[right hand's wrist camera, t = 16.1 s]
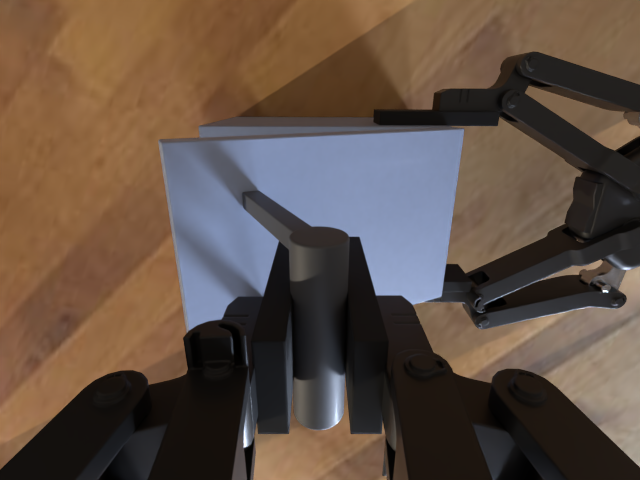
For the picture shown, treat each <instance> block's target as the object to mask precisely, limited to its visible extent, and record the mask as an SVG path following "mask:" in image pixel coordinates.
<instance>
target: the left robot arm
mask: <svg viewBox="0 0 640 480" xmlns="http://www.w3.org/2000/svg"><path fill="white" fill-rule="evenodd" d="M500 70H501V73H500V75H499V77H498V79H497V81H496V83H495V84H494V85H493V86H491V87H490V88H487V89H442V90H440V91H437V92H435V93H434V98H433V108H432V110H375V109H374V120H373V122H374V123H376V124H378V125H443V126H498V121H499V117H500V118H502V119H503V120H505V121H506V122H508V123H509V124H511V125H513V126H514V127H516V128H517V129H519V130H520V131H522V132H523V133H525V134H527V135H528V136H530V137H531V138H533V139H534V140H536V141H537V142H539V143H541V144H542V145H544V146H545V147H547V148H548V149H550V150H551V151H553V152H555V153H556V154H558V155H559V156H561V157H562V158H564V159H565V161H566V162H567V163H569V164H570V165H572V166H574V167H575V168H577V169H578V170H580V171H581V172H583V173H582V175H581V177H576V179H575V183H574V187H573V202H572V204H571V206H570V208H569V210H568V211H567V215H566V219H565V223H566V224H564V225H562V226H560V227H557V228H555V229H553V230H551V231H549V232H548V235H547V237H545V238H543V239H541V240H538V241H536V242H534V243H532V244H530V245H527V246H525V247H523V248H521V249H519V250H516V251H514V252H512V253H510V254H508V255H505V256H503V257H501V258H499V259H497V260H494V261H492V262H490V263H488V264H486V265H483V266H481V267H479V268H477V269H475V270H472V271H470V272H468V273H466V274H465V273H464V271H463V270H462V269H461V268H460V266H459V265H458V264H446V267H445V275H444V282H443V289H442V296H441V297H438V298H435V299H431V300H428V301H424V302H460V303H463V307H464V309H465V311H466V312H467V314H468V315H469V317H470V318H471V320H472V321H473V323H474V324H475V326H476V327H477V328H479V329H487V328H492V327H497V326H501V325H506V324H511V323H515V322H520V321H525V320H530V319H534V318H539V317H544V316H548V315H553V314H558V313H562V312H567V311H572V310H577V309H581V308H586V307H598V308H610V309H617V308H620V307H622V306H623V305H624V304H625V302H626V299H627V298H626V295H624V294H623V293H622V292H620V291H619V290H618V289H619V286H620V284H621V282H622V279H623V277H624V274H625V272H626V270H630V269H634V268H636V267H639V266H640V136H639V137H637V138H635V139H633V140H632V141H630V142H628V143H627V144H625V145H623V146H622V147H620V148H618V149H617V150H615V151H614V150H611V149H609V148H606V147H605V146H603V145H602V144H600V143H598V142H597V141H595V140H594V139H592V138H591V137H589V136H588V135H586V134H585V133H583V132H582V131H580V130H579V129H577V128H576V127H574V126H573V125H571V124H570V123H568V122H567V121H565V120H564V119H562V118H561V117H559V116H558V115H556V114H555V113H553V112H552V111H550V110H549V109H547V108H546V107H544V106H543V105H541V104H540V103H538V102H537V101H535V100H534V99H532V98H531V97H529V96H528V95H526V94H525V91H526V89H527V88H528V86H532V87H535V88H539V89H542V90H545V91H548V92H551V93H555V94H558V95H561V96H564V97H567V98H571V99H574V100H577V101H580V102H583V103H587V104H590V105H593V106H596V107H599V108H603V109H607V110H612V111H625V112H624V115H623V117H624V118H625V119H627V121H628V122H629V124H631V125H635V126H638V127H639V128H640V85H638V84H635V83H632V82H629V81H626V80H623V79H620V78H617V77H614V76H610V75H607V74H604V73H601V72H598V71H595V70H592V69H589V68H586V67H582V66H579V65H576V64H573V63H570V62H567V61H564V60H561V59H558V58H554V57H551V56H548V55H545V54H542V53H539V52H529V53H525V54H520V55H515V56H511V57H508V58H506V59H505V60H504V61H503V63H502V64H501V68H500ZM577 240H578V241H579V242H578V241H577ZM600 259H601V260H602V261H603V263H602V264H601V265H600V267H598V268H596V269H593V270H588V271H587V270H586V269H583V270H581V271H580V272H579V275H565V276H560V277H555V278H551V279H546V280H542V281H539V280H541V279H544V278H546V277H548V276H550V275H553V274H555V273H557V272H560V271H562V270H564V269H567V268H569V267H571V266H585V265H589V264H591V263H593V262H596V261H598V260H600Z"/></svg>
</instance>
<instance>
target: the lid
mask: <svg viewBox="0 0 640 480" xmlns="http://www.w3.org/2000/svg"><path fill="white" fill-rule="evenodd" d="M463 135H464V129H463V128H454V127H437V128H413V129H390V130H367V131H343V132H320V133H297V134H273V135H250V136H227V137H203V138H180V139H160V140H159V141H158V142H159V149H160V156H161V163H162V169H163V176H164V183H165V190H166V196H167V203H168V210H169V217H170V223H171V230H172V237H173V244H174V251H175V257H176V264H177V271H178V278H179V284H180V291H181V298H182V305H183V311H184V318H185V325H186V332H188V331H189V330H191V329H192V328H194V327H195V326H197V325H199V324H202V323H205V322H208V321H213V320H222V317H223V315H224V313H225V310H226V308H227V306H228V305H229V304H230V303H231V302H232V301H233V300H235V299H236V298H237V297H238V296H264V292H265V288H266V285H267V281H268V278H269V274H270V271H271V267H272V264H273V260H274V257H275V253H276V249H277V246H278V242H279V241H280V242H281V243H282V244H283V245H284V246H285V247H286V248H288V249H289V267H290V293H291V295H292V325H293V358H294V383H293V405H294V415H295V417H296V419H297V420H298V422H299V423H300V424H301V425H303V426H304V427H306V428H309V429H313V430H325V429H329V428H331V427H333V426H335V425H336V424H337V423H338V422H339V421H340V420H341V418H342V416H343V413H344V391H345V359H346V328H347V297H348V271H349V241H350V238H349V237H360V240H361V244H362V247H363V251H364V254H365V258H366V261H367V265H368V269H369V272H370V276H371V279H372V283H373V286H374V290H375V293H376V295H402V296H403V297H404V298H405V299H407V300H408V301H409V302H410V303H411V304H412V305H414V304H418V303H421V302H424V301H428V300H431V299H435V298H438V297H441V296H442V289H443V282H444V275H445V267H446V260H447V253H448V245H449V238H450V230H451V223H452V216H453V208H454V201H455V194H456V186H457V179H458V172H459V164H460V157H461V149H462V142H463Z"/></svg>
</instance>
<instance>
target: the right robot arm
mask: <svg viewBox="0 0 640 480" xmlns="http://www.w3.org/2000/svg"><path fill="white" fill-rule="evenodd" d="M349 238H350V241H349V271H348V297H347V328H346V359H345V376H346V387H347V398H348V409H349V420H350V431H351V434H382V422H383V424H384V429H385V434H386V439H385V451H384V463H383V474H382V476H387V480H640V467H639V466H638V465H637V464H636V463H634V462H633V461H632V460H631V459H630V458H629V457H628V456H627V455H626V454H625V453H624V452H623V451H622V450H621V449H620V448H619V447H618V446H617V445H616V444H615V443H614V442H613V441H612V440H611V439H610V438H609V437H608V436H606V435H605V434H604V433H603V432H602V431H601V430H600V429H599V428H598V427H597V426H596V425H595V424H594V423H593V422H592V421H591V420H590V419H589V418H588V417H587V416H586V415H585V414H584V413H583V412H582V411H581V410H580V409H578V408H577V407H576V406H575V405H574V404H573V403H572V402H571V401H570V400H569V399H568V398H567V397H566V396H565V395H564V394H563V393H562V392H561V391H560V390H559V389H558V388H557V387H556V386H554V385H553V384H552V383H550V382H549V381H548V380H546V379H545V378H543V377H541V376H539V375H536V374H534V373H532V372H528V371H525V370H521V369H505V370H501V371H498V372H497V373H496V374H495V375H494V376H493V378H492V383H487V382H482V381H478V380H473V379H469V378H466V377H463V376H460V375H457V374H455V373H453V370H452V368H451V367H450V365H449V364H448V362H447V361H446V360H445V359H443V358H442V357H441V356H439V355H437V354H435V353H433V350H432V348H431V346H430V344H429V341H428V339H427V337H426V335H425V332H424V330H423V328H422V326H421V324H420V321H419V319H418V317H417V316H416V312H415V310H414V307H413V305H412V304H411V303H410V302H409V301H408V300H407V299H405V298H404V297H403V296H402V295H376V293H375V290H374V286H373V283H372V279H371V276H370V272H369V269H368V265H367V261H366V258H365V254H364V251H363V247H362V244H361V240H360V237H349ZM183 340H184V346H185V353H186V359H187V366H188V371H187V374H186V375H183V376H181V377H179V378H176V379H172V380H169V381H164V382H160V383H155V384H151V385H148V380H147V378H146V377H145V376H144V375H143V374H142V373H140V372H136V371H133V370H129V371H118V372H114V373H110V374H107V375H105V376H103V377H101V378H99V379H96V380H95V381H93V382H92V383H91V384H89V385H88V386H87V387H85V388H84V389H83V390H82V391H81V392H80V393H79V394H78V395H77V396H76V397H75V398H74V399H73V400H72V401H71V402H70V403H69V404H68V405H67V406H66V407H65V408H63V409H62V410H61V411H60V412H59V413H58V414H57V415H56V416H55V417H54V418H53V419H52V420H51V421H50V422H49V423H48V424H47V425H46V426H45V427H44V428H43V429H42V430H41V431H40V432H39V433H38V434H37V435H36V436H35V437H34V438H33V439H32V440H31V441H29V442H28V443H27V444H26V445H25V446H24V447H23V448H22V449H21V450H20V451H19V452H18V453H17V454H16V455H15V456H14V457H13V458H12V459H11V460H10V461H9V462H8V463H7V464H6V465H5V466H4V467H3V468H2V469H1V470H0V480H253V476H254V465H255V454H256V451H255V439H254V434H255V429H256V423H257V427H258V434H289V427H290V416H291V405H292V394H293V383H294V358H293V325H292V295H291V293H290V267H289V249H288V248H286V247H285V246H284V245H283V244H282V243H281V242H280V241H279V242H278V246H277V249H276V253H275V257H274V260H273V264H272V267H271V271H270V274H269V278H268V281H267V285H266V288H265V292H264V296H238V297H237V298H236V299H235V300H233V301H232V302H231V303H230V304H229V305H228V306H227V308H226V310H225V313H224V315H223V317H222V320H213V321H208V322H205V323H202V324H199V325H197V326H195V327H194V328H192V329H191V330H189V331H188V332H187V334H186V335H185V336H184V338H183Z"/></svg>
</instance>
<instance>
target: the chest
mask: <svg viewBox="0 0 640 480" xmlns="http://www.w3.org/2000/svg"><path fill="white" fill-rule="evenodd" d="M373 120H374V117H234V118H229V119H225V120H221V121H217V122H213V123H209V124H205V125H200V126H199V135H200V138H203V137H227V136H250V135H273V134H297V133H320V132H343V131H367V130H390V129H413V128H437V127H451V126H443V125H378V124H376V123H374V122H373Z"/></svg>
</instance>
